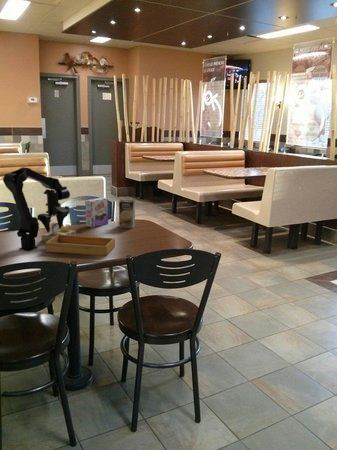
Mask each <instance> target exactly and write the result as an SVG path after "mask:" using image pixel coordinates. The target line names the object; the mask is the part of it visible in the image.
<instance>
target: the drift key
mask: <svg viewBox="0 0 337 450" xmlns="http://www.w3.org/2000/svg"><path fill="white" fill-rule="evenodd" d="M60 229H61V231H65V232H69V231H70V230H71V229H70V227H68V226H63V225H62V227H61V228H60Z"/></svg>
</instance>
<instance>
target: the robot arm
mask: <svg viewBox="0 0 337 450" xmlns="http://www.w3.org/2000/svg"><path fill="white" fill-rule="evenodd" d="M28 178H29V179H31V180H33V181H36V182H38V183H40V184H41V186H43V187H44V188H45V190H44V191H43V194H44V195H46V202H47V203H45V207H46V206H47V210H46V211H45V213H40V214H39V213H38V214H37V217H34V216H32V214H31V211H30V208H29V205H28V202H27V200H26V197H25V193H24V191H23V188H24V182H25V181H27V179H28ZM2 181H3V183H4V185H5V187H6V188H7V190H8V191H9V192H10V193H11V194H12V197H13V200H14V203H15V205H16V207H17V211H18V212H19V216H20V222H19V224H20V227H19V229H18V231H17V232H16V234H17V237H19V238H20V246H21V247H18V248H19V250H21V251H25V252H26V251H27V252H29V251H32V250H35V249H37V248H38V246H37V245H36V238H38V233H39V230H40V223H39V222H41V224H42V225H43V227H44V228H45V231H46V232H47V233H50V232H51V228H50V224H51V223H52V222H51V221H52V218H53V217H56V221H57V222H56V223H58V229H61V227H62V226H63V223H64V220H65V218H66V217H68V215H69V214H70V206H68V205H66V206H62V204H61V202H59V201H62V200H66V199H69V198H70V196H71V192H70V191H69V189H68V187H67V186H63V185H62V184H61V182H60V179H58V178H56V177H52V176H46V175H44V174H42V173H40V172H37V171H35V170H33V169H31V168H30V167H24V166H23V167H20V168H18V169H16V170H13V171H10V172H7V173H4V175H3V178H2Z"/></svg>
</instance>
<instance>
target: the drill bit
mask: <svg viewBox="0 0 337 450" xmlns="http://www.w3.org/2000/svg"><path fill="white" fill-rule="evenodd" d="M58 230H59V226H58V222H50V232H51V236H56V235H58V234H59V233H58Z"/></svg>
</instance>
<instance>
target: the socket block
mask: <svg viewBox="0 0 337 450" xmlns="http://www.w3.org/2000/svg"><path fill="white" fill-rule="evenodd" d="M58 233H59V235H74V236H77V232H76V230H72V229H70V231H69V232H65V231H61V228H58ZM53 237H55V236H51V231H50V232H47V233H45V234H42V235H41V241H42V242H47V241H48V240H50V239H52V238H53Z"/></svg>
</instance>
